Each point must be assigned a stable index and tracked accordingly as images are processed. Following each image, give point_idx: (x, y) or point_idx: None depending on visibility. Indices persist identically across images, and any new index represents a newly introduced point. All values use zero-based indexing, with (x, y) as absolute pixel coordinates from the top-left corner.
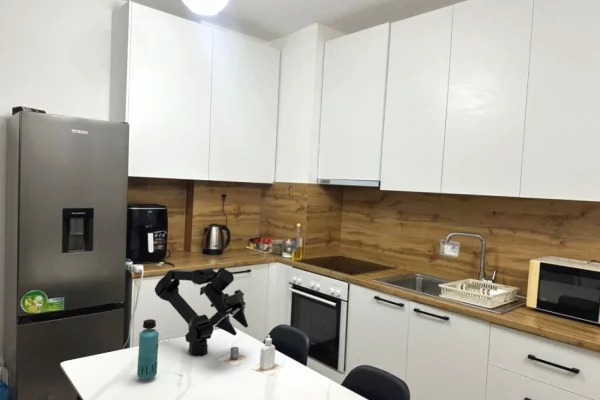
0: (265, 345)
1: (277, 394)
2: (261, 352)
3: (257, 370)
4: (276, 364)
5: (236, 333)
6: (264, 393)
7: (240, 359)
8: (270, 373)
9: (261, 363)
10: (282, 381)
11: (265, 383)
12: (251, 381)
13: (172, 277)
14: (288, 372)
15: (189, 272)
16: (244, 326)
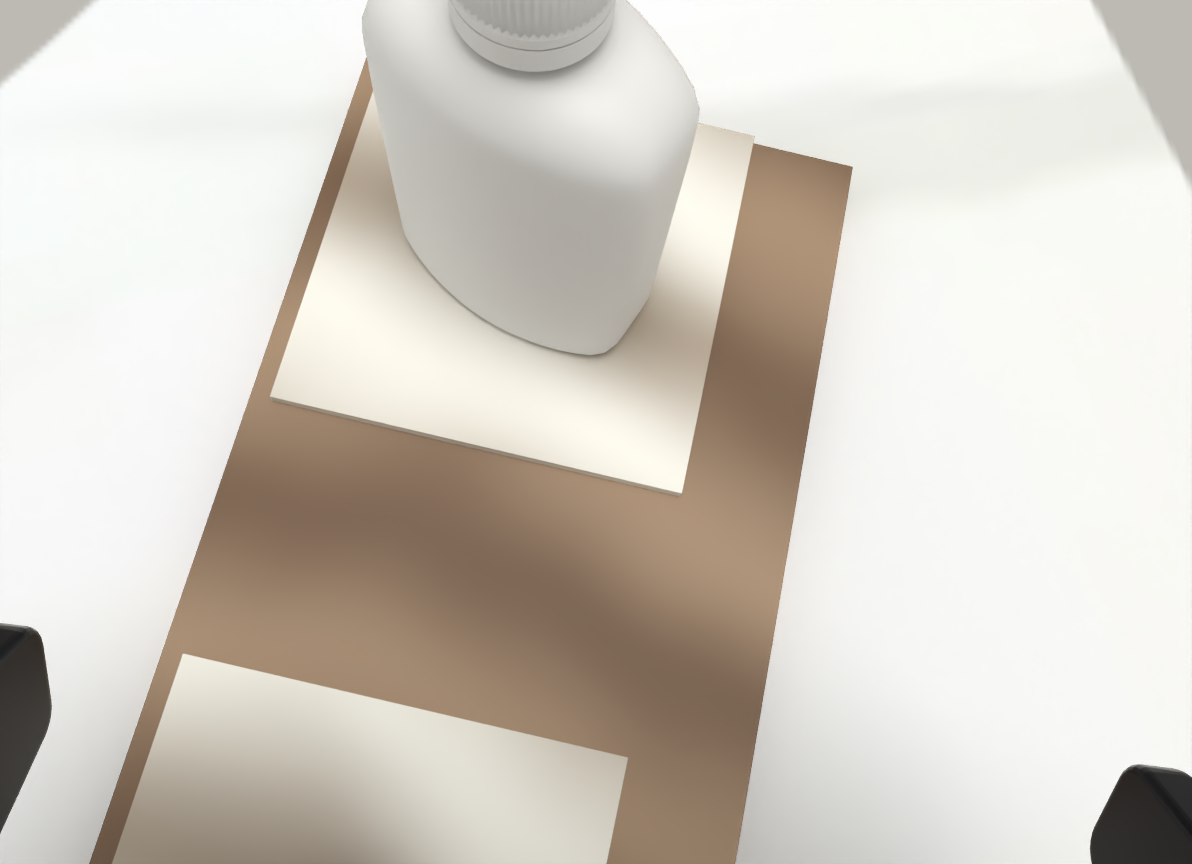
0: (587, 63)
1: (1102, 22)
2: (662, 199)
3: (676, 375)
4: (368, 156)
5: (1171, 768)
6: (1152, 161)
7: (340, 808)
8: (704, 171)
9: (643, 285)
10: (768, 27)
11: (909, 209)
12: (935, 400)
13: None
14: None
15: None
16: (10, 805)
